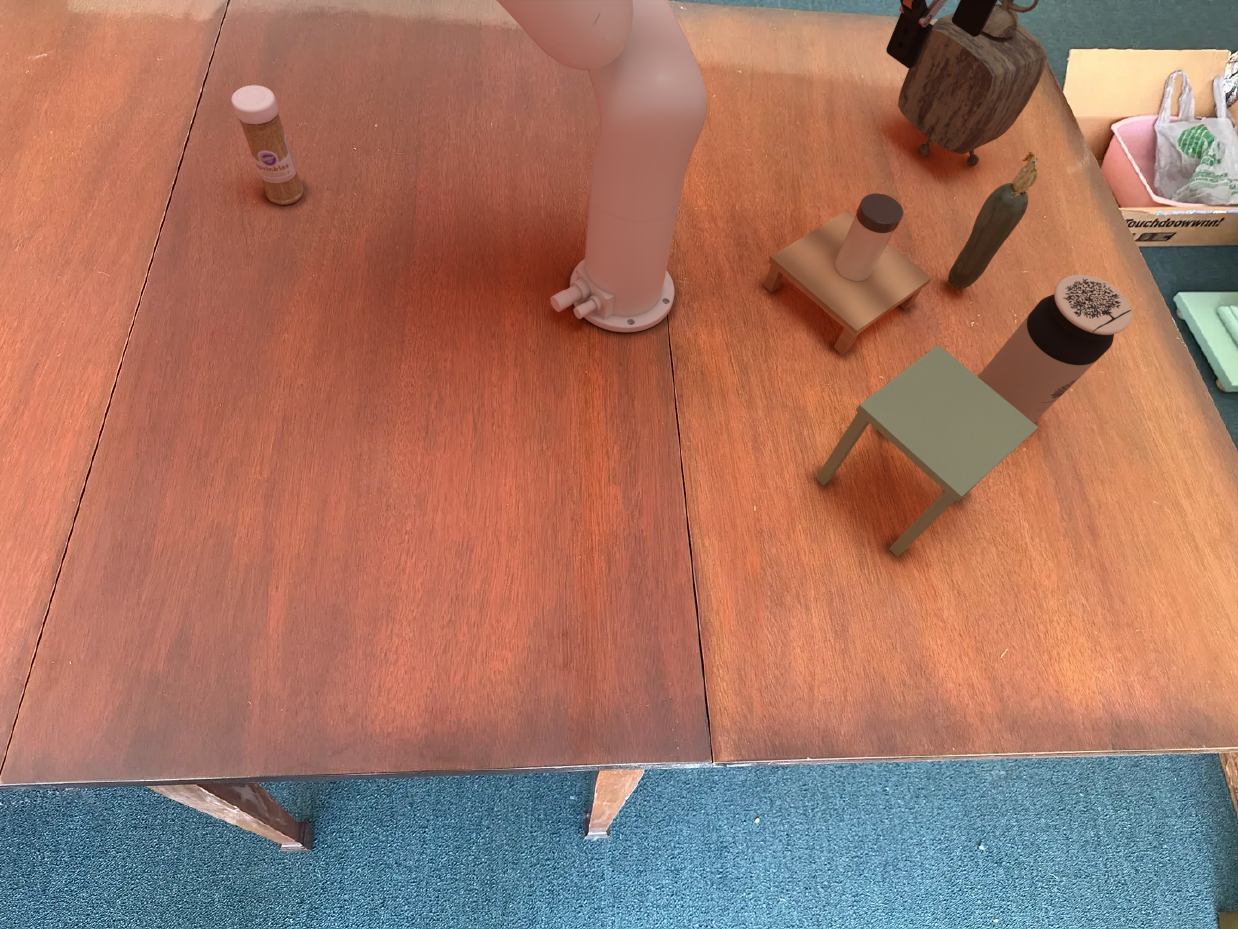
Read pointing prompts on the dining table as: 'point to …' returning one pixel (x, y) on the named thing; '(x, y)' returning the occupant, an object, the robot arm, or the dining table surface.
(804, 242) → the low shelf
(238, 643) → the dining table surface
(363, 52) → the dining table surface
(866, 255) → the spice jar
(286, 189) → the sprinkles bottle
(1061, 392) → the travel mug
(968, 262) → the vegetable
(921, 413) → the tall stand
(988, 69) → the tabletop clock
